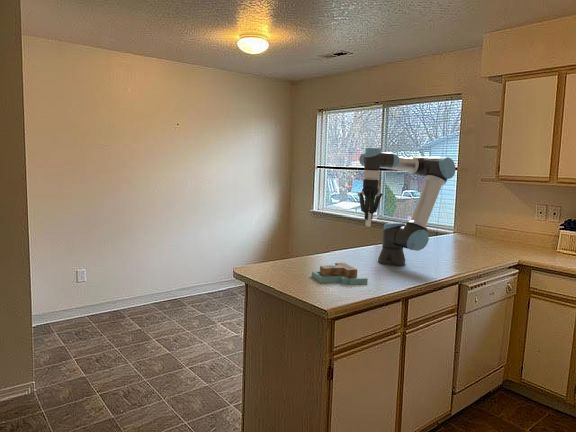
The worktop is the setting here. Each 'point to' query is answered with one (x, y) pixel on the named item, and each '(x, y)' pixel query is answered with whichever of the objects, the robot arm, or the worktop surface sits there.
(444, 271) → the worktop surface
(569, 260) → the worktop surface
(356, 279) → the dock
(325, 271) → the t block
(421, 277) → the worktop surface
